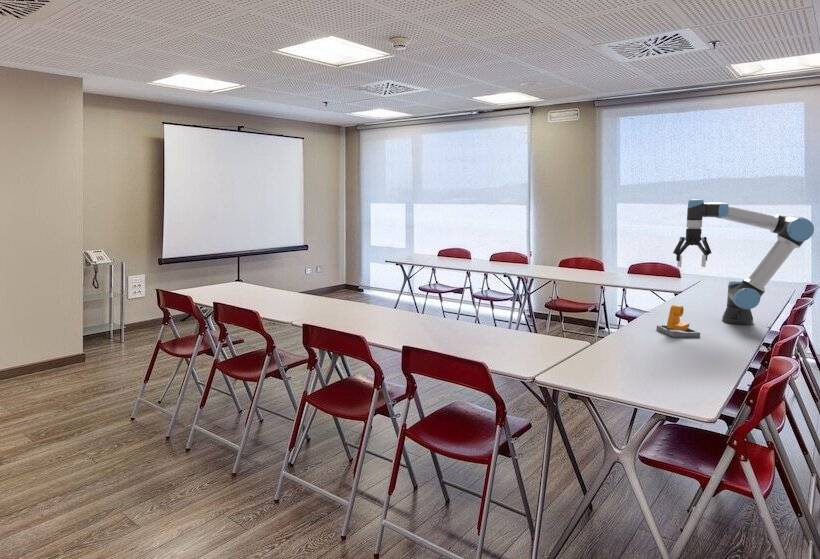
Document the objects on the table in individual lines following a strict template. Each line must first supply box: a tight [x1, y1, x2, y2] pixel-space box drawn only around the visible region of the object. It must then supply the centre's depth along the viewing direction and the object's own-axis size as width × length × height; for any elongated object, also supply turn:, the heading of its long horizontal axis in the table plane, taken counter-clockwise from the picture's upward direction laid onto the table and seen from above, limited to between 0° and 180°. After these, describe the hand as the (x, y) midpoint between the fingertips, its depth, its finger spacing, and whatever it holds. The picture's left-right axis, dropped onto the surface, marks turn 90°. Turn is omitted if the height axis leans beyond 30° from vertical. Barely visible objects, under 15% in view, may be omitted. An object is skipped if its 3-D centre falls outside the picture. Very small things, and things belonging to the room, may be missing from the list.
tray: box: [656, 324, 701, 339], centre depth 292 cm, size 14×17×2 cm
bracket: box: [666, 304, 690, 331], centre depth 291 cm, size 11×7×12 cm, turn 133°
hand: (691, 266), depth 310 cm, fingers open, 13 cm apart
